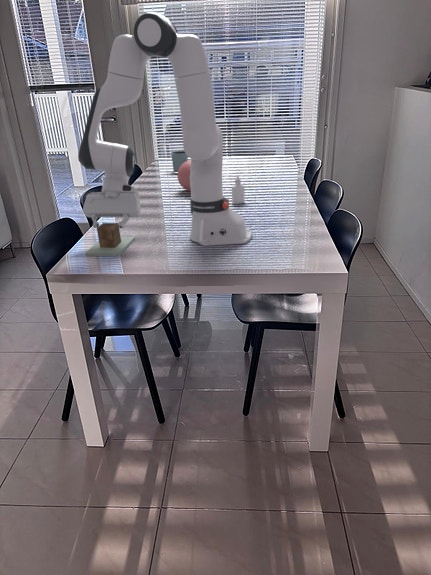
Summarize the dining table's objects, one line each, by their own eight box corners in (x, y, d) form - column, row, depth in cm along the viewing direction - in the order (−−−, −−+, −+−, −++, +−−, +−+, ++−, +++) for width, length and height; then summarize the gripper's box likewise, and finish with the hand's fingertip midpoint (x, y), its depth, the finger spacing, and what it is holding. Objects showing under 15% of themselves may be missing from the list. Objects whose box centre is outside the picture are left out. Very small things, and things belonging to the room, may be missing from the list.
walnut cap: (121, 241, 152) (118, 223, 149) (115, 247, 147) (112, 228, 144) (106, 241, 153) (103, 222, 150) (100, 247, 148) (96, 228, 145)
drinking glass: (174, 170, 267) (173, 150, 262) (190, 170, 266) (189, 150, 261) (171, 174, 258) (169, 153, 253) (187, 173, 257) (185, 153, 252)
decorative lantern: (179, 198, 206) (176, 165, 200) (178, 188, 224) (175, 158, 217) (211, 196, 207) (209, 163, 201) (207, 186, 225) (206, 156, 218)
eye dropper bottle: (232, 201, 196) (231, 175, 191) (244, 201, 196) (244, 175, 190) (231, 204, 192) (230, 177, 187) (244, 204, 192) (243, 177, 186)
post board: (135, 239, 157) (132, 222, 154) (119, 256, 143) (116, 237, 140) (104, 239, 159) (101, 222, 156) (85, 255, 145) (81, 237, 142)
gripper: (83, 187, 150) (76, 223, 146) (138, 186, 147) (133, 223, 143) (91, 196, 156) (84, 231, 152) (144, 196, 153) (139, 231, 148)
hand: (108, 227), depth 147 cm, fingers open, 8 cm apart
